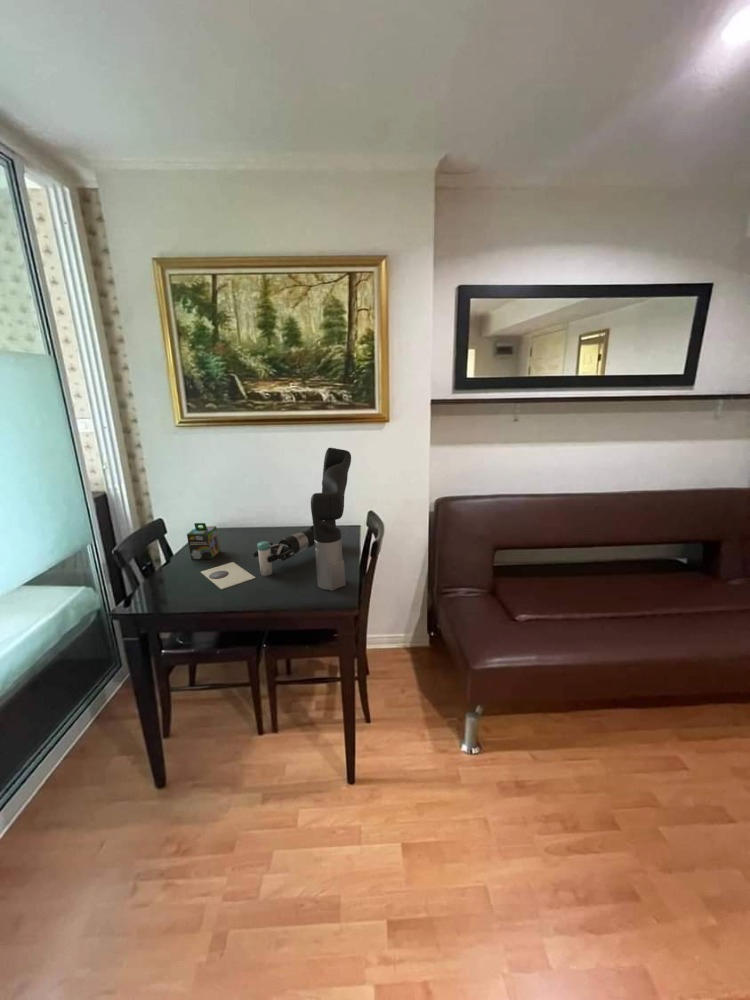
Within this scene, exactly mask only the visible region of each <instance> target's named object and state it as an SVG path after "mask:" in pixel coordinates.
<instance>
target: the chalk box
mask: <svg viewBox="0 0 750 1000" xmlns="http://www.w3.org/2000/svg"><path fill="white" fill-rule="evenodd" d="M186 536H187V537H186V538H187V544H188V549H189V555H190V559H191V560H212V559H214V557H216V556H217V555H218V554H219V553H220V551H221V547H220V541H219V535H218V529H217V526H215V525H214V526H213V525H211V526H207V524H206V523H205V522H194V529H191V530H190V531H189V532H188V533H187V534H186Z"/></svg>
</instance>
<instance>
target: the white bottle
mask: <svg viewBox="0 0 750 1000" xmlns="http://www.w3.org/2000/svg"><path fill="white" fill-rule="evenodd" d="M269 543H270V542H269V541H266V540H265V541H264V540H263V541H260V542H257V544H256V545H257V550H258V555H259V556H258V563H259V573H260V576H262V577H263V576H264V577H266V576H267V577H268V576H271V575H272V574H273V565H272V564H273V562H270V563H269V562H267V557H269V556H271V553H270V552H271V550H270V544H269Z"/></svg>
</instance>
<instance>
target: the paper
mask: <svg viewBox="0 0 750 1000" xmlns="http://www.w3.org/2000/svg"><path fill="white" fill-rule="evenodd" d="M200 574H202V575H203V576H204V577H205V578H206V579H208V580H209V581H210V582H212V583H213V584H214V585H215V586H216V587H217V588H219V589H220V590H224V589H225V590H226V589H228V588H230V587H234V586H236V585H240V584H243V583H245V582H248V581H250V580H251V581H252V580H254V579H256V576H254V575H253V574H251V572H250V573H249V572H248V571H247V570H245V569H244V568H242V567H241V566H239V565H238V564H236V562H234V561H231V562H228V563H225V564H222V565H219V566H216V567H212V568H209V569H205V570H202V571H200Z"/></svg>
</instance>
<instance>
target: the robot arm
mask: <svg viewBox="0 0 750 1000" xmlns="http://www.w3.org/2000/svg"><path fill="white" fill-rule="evenodd" d="M351 463H352V454H351V452H350V451H348V450H346V449H340V448H335V447H328V448H327V449H326V450H325V454H324V460H323V468H322V469H323V471H322V480H321V492H316V493H313V494H312V495H311V498H310V511H311V519H312V525H311V526H310V527H309V528H307V529H305V530H303V531H301V532H297V533H293V534H290V535H288V536H285V537H283V538H281V539H280V540H279V542H278V543H275V544H273V542H269V544H270V553H271V556H269V557H267V562H269V563H270V562H271V563H273V562H275V561H283V562H284V561H287V560H288V559H290V558H292V557H295V555H297V554H298V553H301V552H304V550H307V549H309V548H311V547H314V553H315V564H316V565H315V567H316V577H317V578H316V579H317V586H318V588H319V589H321V590H325V591H326V590H328V591H331V592H333V591H335V590H337V589H340V588H342V587H345V586H346V571H345V569H346V568H345V561H344V559H343V543H342V542H343V541H342V532H341V529H340V528H338V527H337V522H336V521H337V520H339V519H341V518H342V517H343V515H344V509H345V495H346V494H345V493H346V489H347V483H348V474H349V469H350V467H351ZM252 555H253V558H257V557H258V558H259V555H258V549H257V550H255V551H253V553H252Z"/></svg>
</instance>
